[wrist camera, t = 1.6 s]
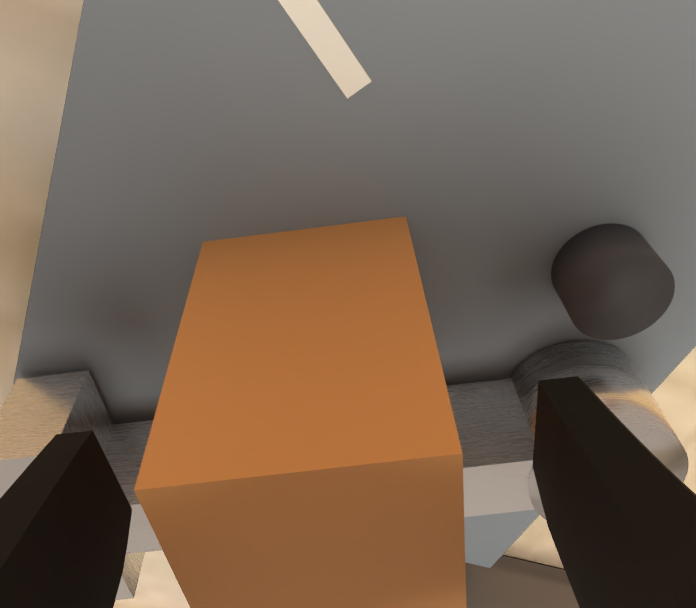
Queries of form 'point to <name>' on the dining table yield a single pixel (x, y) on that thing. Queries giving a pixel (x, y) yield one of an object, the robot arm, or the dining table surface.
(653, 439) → the crank
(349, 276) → the block
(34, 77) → the dining table surface
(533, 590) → the tray
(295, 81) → the crank board
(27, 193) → the dining table surface
